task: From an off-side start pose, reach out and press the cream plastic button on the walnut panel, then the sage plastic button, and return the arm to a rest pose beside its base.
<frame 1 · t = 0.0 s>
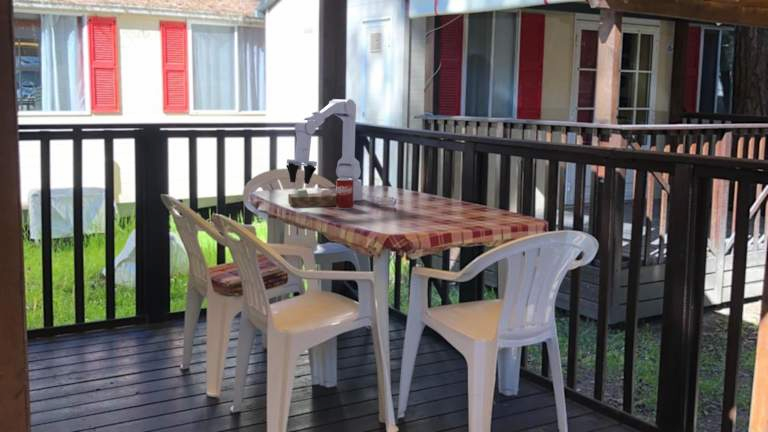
hand: (299, 183, 336), 11 cm above the table, tool pointing down, fingers open, 7 cm apart
cream button: (325, 193, 350), point 4 cm above the table, slide at 0.0 cm
button panel: (313, 204, 349), on the table
sage button: (301, 194, 347), point 4 cm above the table, slide at 0.0 cm
soda can: (345, 208, 339), on the table
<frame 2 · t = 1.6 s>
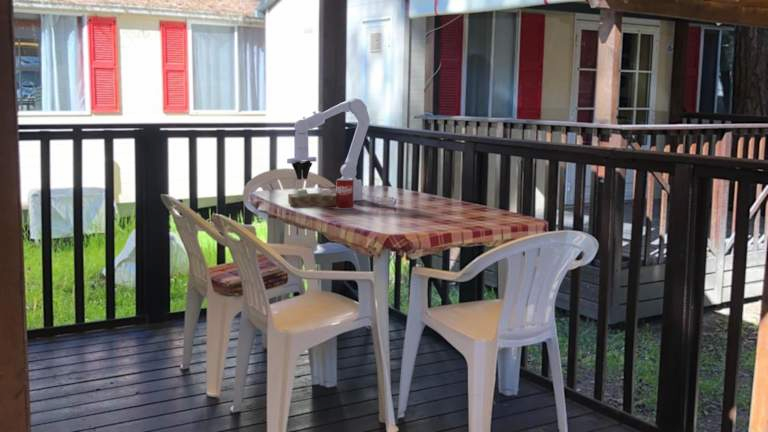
hand: (302, 179, 358), 9 cm above the table, tool pointing down, fingers closed
nothing on the table moved.
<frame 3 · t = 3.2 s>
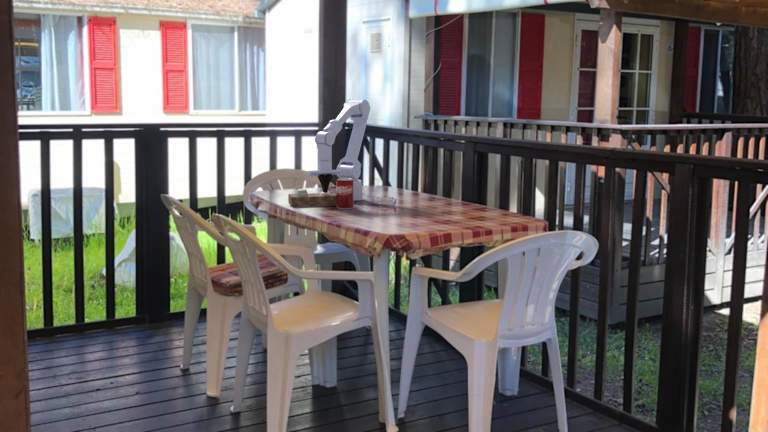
hand: (325, 192, 349), 5 cm above the table, tool pointing down, fingers closed, pressing on cream button
cream button: (325, 196, 350), point 3 cm above the table, slide at 1.2 cm, touching gripper
everything else where it was.
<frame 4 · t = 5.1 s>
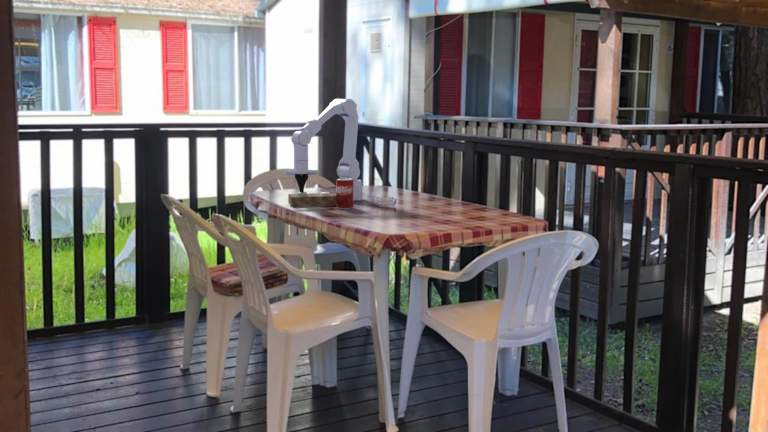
hand: (301, 192, 347), 5 cm above the table, tool pointing down, fingers closed, pressing on sage button
cream button: (325, 197, 350), point 3 cm above the table, slide at 1.4 cm
sage button: (301, 196, 347), point 3 cm above the table, slide at 1.0 cm, touching gripper
everything else where it was.
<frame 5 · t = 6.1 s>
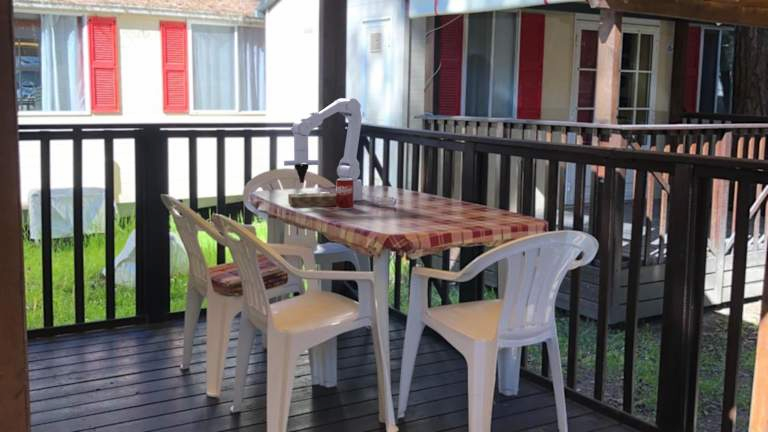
hand: (301, 182, 347), 9 cm above the table, tool pointing down, fingers closed
sage button: (301, 197, 347), point 3 cm above the table, slide at 1.4 cm
everything else where it was.
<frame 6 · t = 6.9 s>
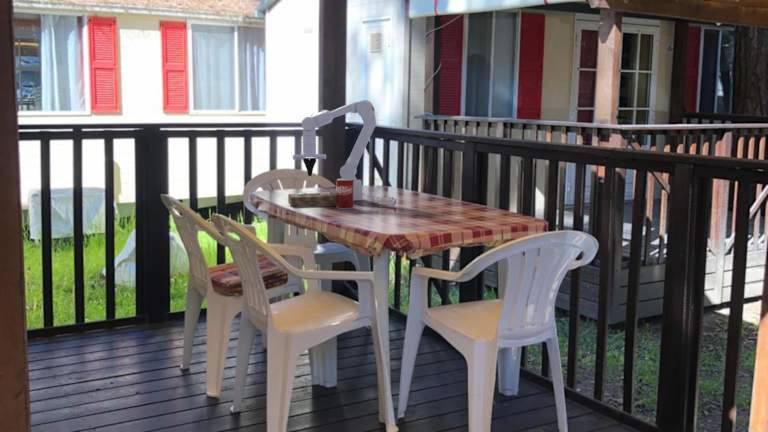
hand: (309, 175, 363), 10 cm above the table, tool pointing down, fingers closed
nothing on the table moved.
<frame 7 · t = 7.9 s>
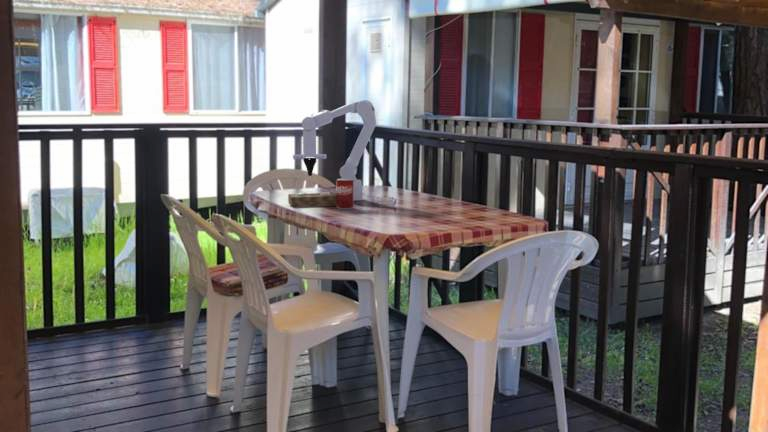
hand: (309, 175, 363), 10 cm above the table, tool pointing down, fingers closed
nothing on the table moved.
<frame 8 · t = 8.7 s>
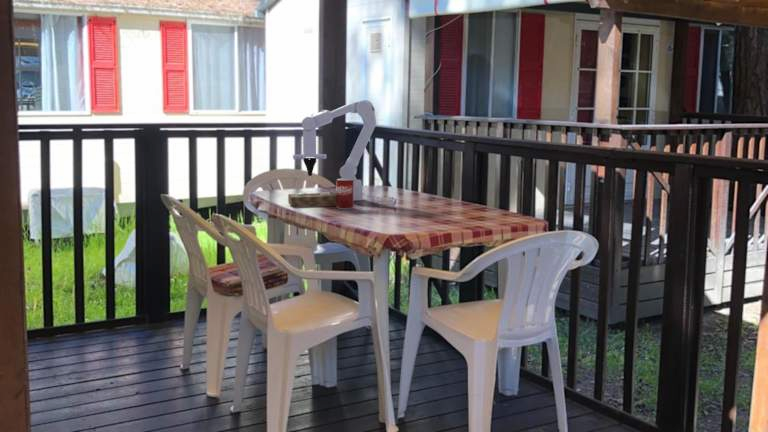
hand: (309, 175, 363), 10 cm above the table, tool pointing down, fingers closed
nothing on the table moved.
at the end: cream button slide at 1.4 cm; sage button slide at 1.4 cm; soda can moved 0.2 cm from its start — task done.
